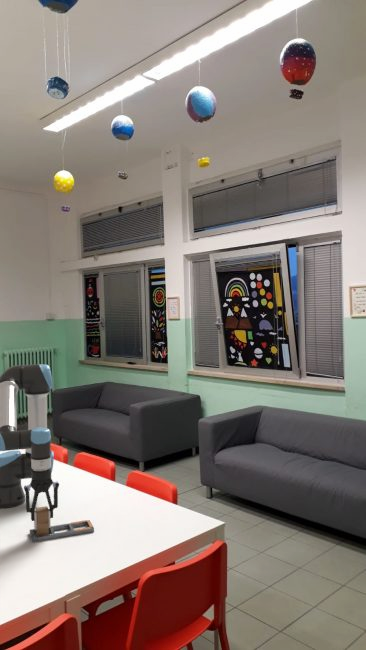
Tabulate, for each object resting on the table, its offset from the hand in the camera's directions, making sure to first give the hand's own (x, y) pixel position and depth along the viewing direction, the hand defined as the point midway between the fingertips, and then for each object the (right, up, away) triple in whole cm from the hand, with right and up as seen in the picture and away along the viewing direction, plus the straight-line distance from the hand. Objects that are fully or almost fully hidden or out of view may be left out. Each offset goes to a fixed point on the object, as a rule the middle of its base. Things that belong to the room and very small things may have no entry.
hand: (42, 527), depth 200 cm
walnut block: (0, -3, 0) cm, 3 cm away
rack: (+7, -3, +3) cm, 8 cm away
